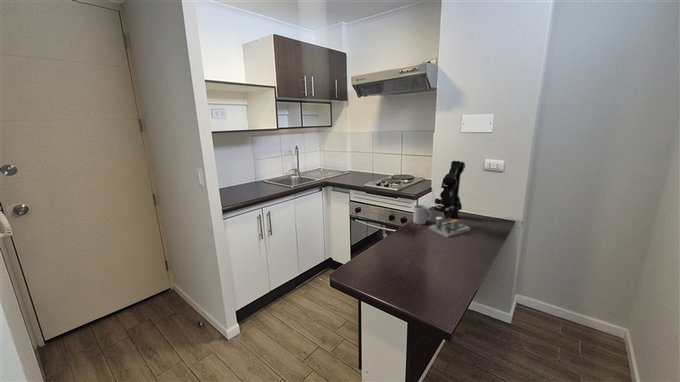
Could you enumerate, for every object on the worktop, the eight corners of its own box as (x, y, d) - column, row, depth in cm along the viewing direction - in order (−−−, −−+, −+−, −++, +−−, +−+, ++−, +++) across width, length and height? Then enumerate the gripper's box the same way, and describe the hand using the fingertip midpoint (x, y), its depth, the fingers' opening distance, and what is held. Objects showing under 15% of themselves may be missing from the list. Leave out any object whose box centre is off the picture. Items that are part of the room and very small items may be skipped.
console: (450, 223, 187) (451, 218, 186) (470, 230, 174) (470, 225, 173) (428, 229, 178) (429, 224, 177) (447, 237, 165) (447, 232, 164)
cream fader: (439, 224, 178) (439, 216, 177) (442, 225, 176) (442, 217, 175) (435, 225, 177) (435, 217, 175) (438, 226, 175) (438, 218, 173)
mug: (411, 223, 189) (412, 207, 186) (414, 219, 196) (415, 204, 193) (429, 225, 183) (430, 210, 181) (432, 221, 190) (433, 206, 188)
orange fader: (454, 227, 173) (454, 219, 172) (457, 228, 171) (457, 220, 170) (450, 228, 172) (450, 220, 170) (453, 229, 170) (454, 221, 168)
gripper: (448, 191, 188) (447, 213, 192) (428, 195, 179) (427, 218, 183) (462, 194, 178) (460, 217, 182) (441, 199, 170) (440, 223, 174)
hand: (446, 219), depth 181 cm, fingers closed
